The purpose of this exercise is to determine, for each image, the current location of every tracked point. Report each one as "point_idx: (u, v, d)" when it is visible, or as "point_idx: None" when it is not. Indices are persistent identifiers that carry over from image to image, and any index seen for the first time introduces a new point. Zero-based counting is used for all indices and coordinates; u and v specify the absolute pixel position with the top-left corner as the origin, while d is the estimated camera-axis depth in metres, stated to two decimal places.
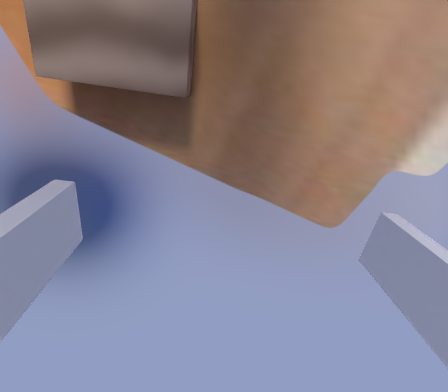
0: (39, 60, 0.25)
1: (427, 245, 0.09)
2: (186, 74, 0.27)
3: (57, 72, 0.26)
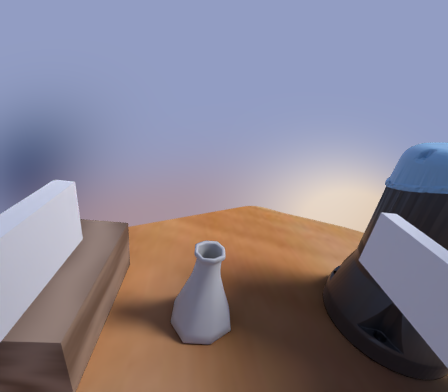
0: None
1: (427, 245, 0.09)
2: None
3: None
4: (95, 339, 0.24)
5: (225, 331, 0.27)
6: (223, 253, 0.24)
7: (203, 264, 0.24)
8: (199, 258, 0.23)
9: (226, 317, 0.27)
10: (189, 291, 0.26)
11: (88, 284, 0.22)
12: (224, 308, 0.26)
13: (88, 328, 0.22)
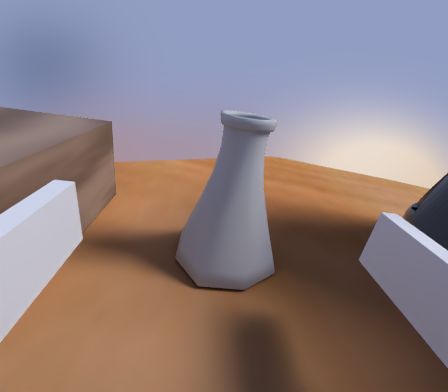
0: None
1: (427, 245, 0.09)
2: None
3: None
4: None
5: (267, 273, 0.16)
6: (272, 119, 0.13)
7: (237, 132, 0.13)
8: (231, 119, 0.12)
9: (269, 248, 0.16)
10: (209, 197, 0.15)
11: (17, 154, 0.11)
12: (267, 231, 0.15)
13: None
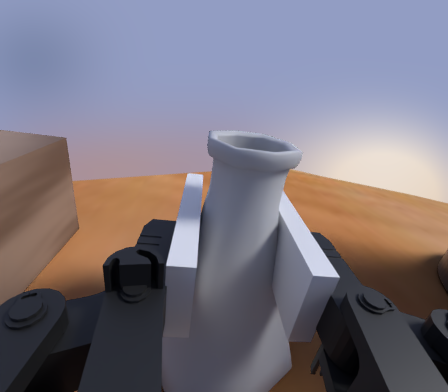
0: None
1: None
2: None
3: None
4: None
5: (281, 371, 0.11)
6: (294, 148, 0.08)
7: (235, 172, 0.07)
8: (224, 151, 0.07)
9: (285, 336, 0.10)
10: None
11: None
12: None
13: None
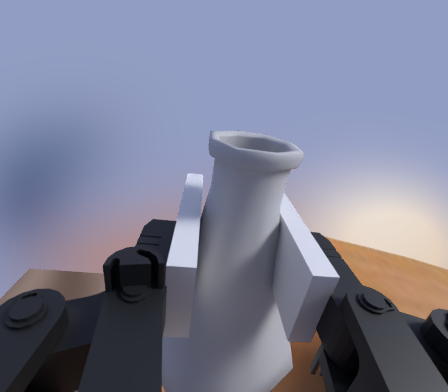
0: (44, 275, 0.21)
1: None
2: None
3: (18, 289, 0.19)
4: None
5: (282, 372, 0.11)
6: (295, 148, 0.08)
7: (236, 173, 0.07)
8: (225, 151, 0.07)
9: None
10: None
11: None
12: None
13: None
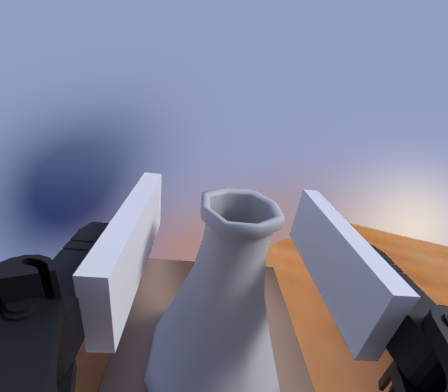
0: (163, 264, 0.20)
1: (327, 213, 0.10)
2: None
3: (147, 279, 0.18)
4: None
5: None
6: (277, 212, 0.09)
7: (225, 239, 0.08)
8: (215, 223, 0.08)
9: (273, 369, 0.11)
10: (187, 312, 0.10)
11: None
12: (270, 349, 0.11)
13: None
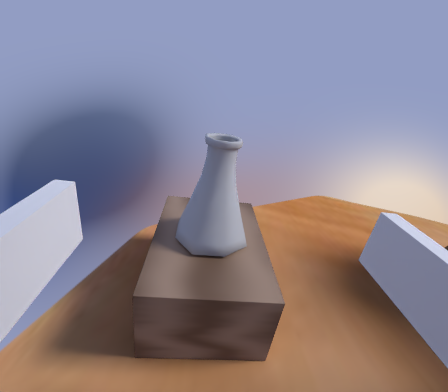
0: (179, 199, 0.31)
1: (427, 245, 0.09)
2: (167, 297, 0.17)
3: (170, 204, 0.29)
4: None
5: (241, 246, 0.23)
6: (240, 140, 0.20)
7: (216, 149, 0.19)
8: (212, 141, 0.19)
9: (242, 228, 0.22)
10: (198, 193, 0.21)
11: (264, 255, 0.23)
12: (240, 216, 0.22)
13: None
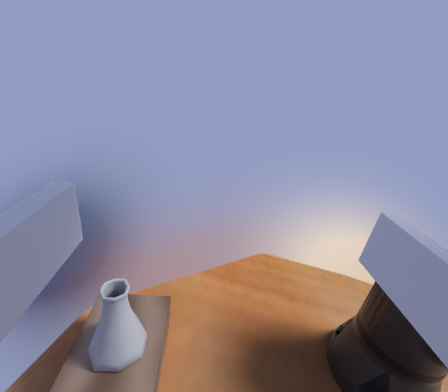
0: None
1: (427, 245, 0.09)
2: None
3: (98, 305, 0.36)
4: None
5: (136, 358, 0.30)
6: (125, 291, 0.27)
7: (105, 302, 0.26)
8: (101, 297, 0.26)
9: (136, 346, 0.29)
10: (100, 324, 0.28)
11: (154, 365, 0.30)
12: (134, 338, 0.29)
13: None
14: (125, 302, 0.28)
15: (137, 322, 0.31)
